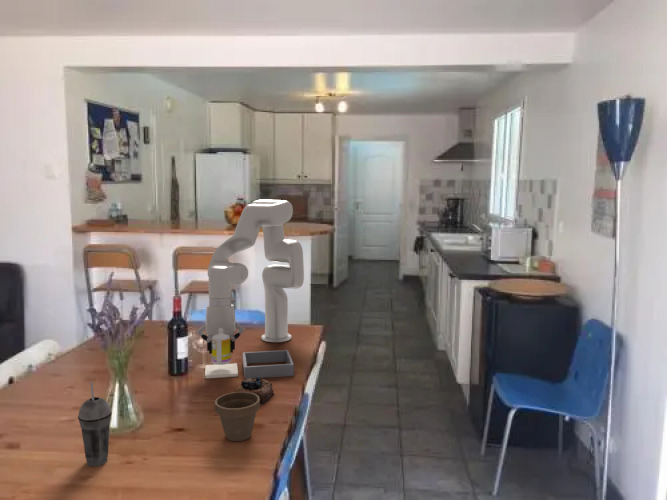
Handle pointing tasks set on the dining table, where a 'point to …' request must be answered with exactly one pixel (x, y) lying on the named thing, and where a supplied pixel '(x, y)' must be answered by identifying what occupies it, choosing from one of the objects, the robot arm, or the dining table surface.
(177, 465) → the dining table surface
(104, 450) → the beverage cup
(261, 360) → the bin
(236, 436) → the flower pot
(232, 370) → the tile
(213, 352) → the supplement bottle
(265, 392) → the pastry
